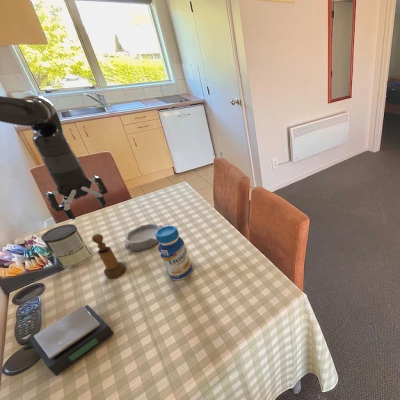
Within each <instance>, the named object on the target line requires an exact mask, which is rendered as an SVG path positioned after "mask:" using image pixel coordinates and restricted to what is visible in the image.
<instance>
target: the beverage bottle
mask: <svg viewBox="0 0 400 400" xmlns="http://www.w3.org/2000/svg"><path fill="white" fill-rule="evenodd" d="M155 235H156V238H157V240H158V242H157V243H159V244H158V252H159V253H160V258H161V259H162V261H163V264H164V266H165V268H166V270H167V273H168V276H169V278H170V279H171V280H174V281H180V280H184V279H186V278H188V277H189V276H190V275H191V274H192V273H193V270H194V268H193V267H194V266H193V265H192V262H191V259H190V255H189V253H188V248H187V246H186V244H185V240H183V238H182V237H180V233H179V230H178V228H177V226H175V225H165V226H162V228H160V229H159V230H157V231H156V233H155Z"/></svg>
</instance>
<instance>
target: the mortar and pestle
mask: <svg viewBox="0 0 400 400" xmlns="http://www.w3.org/2000/svg"><path fill="white" fill-rule="evenodd" d="M91 240H92V242H93V243H95V244H97V248H98V251H97V255H98V256H99V258H100V260H101V262H102V264H104V267H105V268H104V270H103V274H104V275H105V277H106V278H107V279H116V278H118V277H121V276H122V275H123V274H124V273H126V270H127V267H126V265H125V263H124V262H122V261H118V259H117V257H116V256H115V253H114V252H113V250H112V248H111V247H110V246H107V245H106V243H105V242H103V241H104V235H102V234H101V233H95V234H93V235H92V237H91Z"/></svg>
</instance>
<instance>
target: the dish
mask: <svg viewBox="0 0 400 400" xmlns="http://www.w3.org/2000/svg"><path fill="white" fill-rule="evenodd" d="M162 227H163V225H162V224H156V223H147V224H141V225H139V226H137V227H135V228H133V229H131V230H130V231H128V233H125V239H124V240H125V243H124V247H125V248H126V249H129V250H130V251H132V252H133V251H134V252H139V251H144V250H147V249H150V248H152V247H154V246H155V245H156V244H157V243H159V242H158V240H157V238H156V235H155V233H156V231H157V230H159V229H160V228H162Z"/></svg>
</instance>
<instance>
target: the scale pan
mask: <svg viewBox="0 0 400 400" xmlns="http://www.w3.org/2000/svg"><path fill="white" fill-rule="evenodd" d="M84 307H85V306H83V305H81V306H79V307H78V308H76V309H75V310H72V311H71V312H69V313H68V314H66V315H65V316H63V317H61V318H60V319H58V320H57V321H55V322H53V323H52V324H50V325H48V326H47V327H46V328H45V327H44V328H43V329H42V330H41V331H39V332H37V333H36V334H34V335H33V338H35V339H36V340H37V342H38V343H39V344H40V346H41V347H42V349H43V350H44V351H45V353H46V354H47V356H48V357H49V358H50V359H52V358H53V357H55V356H56V355H58V354H59V353H61V352H62V351H64V350H65V349H67V348H68V347H69V346H71V345H72V344H74V343H75V342H77V341H78V340H80V339H81V338H82V337H84V336H85V335H87V334H88V333H90V332H91V331H93V330H94V329H96V328H97V327H98V326H100V325H101V324H100V323H99V322H98V321H97V320H96V319H95V318H94V317H93V316H92V315H91V314H90V313H89V312H88V311H87V310H86V309H85V308H84Z"/></svg>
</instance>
